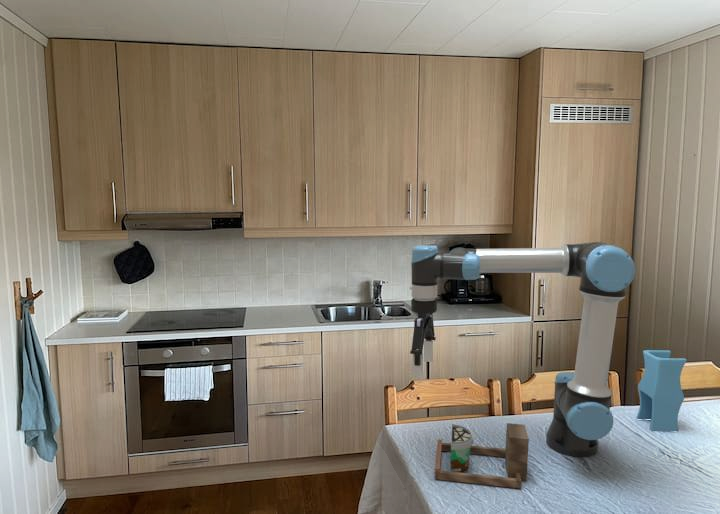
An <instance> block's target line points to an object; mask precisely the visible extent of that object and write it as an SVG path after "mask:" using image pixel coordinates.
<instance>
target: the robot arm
mask: <svg viewBox="0 0 720 514" xmlns="http://www.w3.org/2000/svg"><path fill="white" fill-rule="evenodd" d="M635 272H636V268H635V263H634V261H633V258H632V257H631V256H630V254H629V253H628V252H626V251H625V250H624V249H623V248H620V247H619V246H617V245H612V244H608V243H605V242H599V241H595V242H594V241H593V242H586V243H585V242H584V243H576V244H575V243H573V244H572V243H571V244H570V243H568V244H563V245H562V246H561V247H527V248H526V247H524V248H523V247H520V248H519V247H517V248H513V247H512V248H510V247H509V248H508V247H507V248H505V247H504V248H501V247H500V248H464V247H455V248H453V249H452V250H450V251H449V252H448V253H442V252H439V249H438V246H435V245H425V244H424V245H416V246H414V247H413V248H412V251H411V286H409V289H410V290H411V297H412V299H411V300H410V302H411V303H410V310H411V311H412V312H413V313H415V314H417V318H414V324H413V334H412V336H413V337H412V344H411V349H410V351H409V353H410V354H411V355H412V362H413V363H412V376H414V377H422V378H423V376H424V362H427V363H428V362H429V363H433V361H434V359H433V358H434V357H433V356H434V341H437V340H436V336H435V325H434V317H433V314H435V313H436V312H438V300H437V299H436V298H438V280H462V281H463V280H465V281H469V280H470V281H472V280H474V281H475V280H478V279H479V278H480V274H482V273H484V274H485V273H486V274H490V273H492V274H493V273H495V274H497V273H498V274H499V273H500V274H502V273H504V274H506V273H509V274H511V273H514V274H521V273H522V274H524V273H525V274H526V273H527V274H530V273H531V274H535V273H536V274H540V273H541V274H562V276H564V277H575V278H580V280H579V290H578V291H579V293H580V294H581V295H582V297H583V303H582V304H583V305H582V312H581V319H580V327H579V328H580V329H579V336H578V343H577V349H576V350H577V351H576V356H575V357H576V358H575V368H574V371H564V372H563V371H562V372H558V373H557V374H556V375H555V378H554V379H555V381H554V382H553V383H554V394H553V395H554V400H553V417H552V419H551V422H550V425H549V427H548V430H547V431H546V435H545V436H546V437H545V438H546V439H545V442H546V445H548V446H549V448H551V449H552V450H554V451H555V452H558V453H560V454H564V455H566V456H570V457H571V456H572V457H577V458H586V457H592V456H594V455H596V454H598V452H599V440H601V439H602V438H604V437H606V436H607V435H608V434H609V433H610V432H612V429H613V426H614V416H613V413H612V411H611V403H612V395H613V392H612V390H611V388H609V386H608V380H609V379H608V378H609V373H610V372H609V371H610V364H611V356H612V350H613V342H614V336H615V328H616V321H617V314H618V306H619V302H620V301H622V300H624V299H626V295H627V294H626V293H627V290H628V289H627V288H628V287H629V285H631V283H632V281H633V279H634V277H635V275H636V274H635Z"/></svg>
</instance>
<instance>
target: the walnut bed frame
mask: <svg viewBox="0 0 720 514" xmlns="http://www.w3.org/2000/svg"><path fill="white" fill-rule="evenodd" d="M505 429H506V433H505V448H501V447H500V448H499V447H492V446H490V447H489V446H480V445H472V446H471V447H470V455H481V456H490V457H499V458H504V463H505V469H506V476H507V477H503V476H497V475H496V476H495V475H486V474H477V473H469V472H464V473H460V472H451V471H449V470H441V464H442V463H441V461H442V452H449V453H451V442H450V443H449V442H443V439H440V438H437V447H436V457H435V467H434V470H435V471H434V480H439V481H449V482H450V481H451V482H460V483H468V484H476V485H477V484H478V485H484V486H485V485H487V486H495V487H505V488H510V489H511V488H513V489H522V481H528V462H529V461H528V460H529V459H528V457H529V442H530V440H529V439H530V438H529V435H528V432H527V429H526V425H525V424H522V423H509V422H506V427H505Z"/></svg>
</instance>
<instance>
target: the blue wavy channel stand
mask: <svg viewBox="0 0 720 514" xmlns="http://www.w3.org/2000/svg"><path fill="white" fill-rule="evenodd" d="M642 353H643V359H644V371H643V375H642V377H641V379H640V381H639V382H638V385H637V391H638V395H639V408H638V411H637V415H636V417H635V419H636V418H637V419H651V420H650V424H649V425H650V426H649V431H650V430H651V431H678V432H679V424H678V422H679V421H678V420H679V419H678V418H679V412H680V409H681V407H682V405H683V402H684V400H685V395H684V392H683V388H682V385H681V376H682V372H683V368H684V367H685V364H686V362H687V358H682V357H681V358H676V357H675V358H674V357H672V358H670V357H671V353H672V352H671V350H670V349H669V350H668V349H667V350H661V349H660V350H659V349H658V350H657V349H656V350H652V349H647V350H644V349H643V351H642ZM651 431H650V432H651Z"/></svg>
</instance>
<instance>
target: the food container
mask: <svg viewBox="0 0 720 514" xmlns="http://www.w3.org/2000/svg"><path fill="white" fill-rule="evenodd" d="M450 444H451V452H450V471H451V472H460V473H466V472H467V471H468V470H469V465H470V463H469V462H470V456H471V454H470V447H471V446H473V445H474V439H473V434H472V432H471V431H470V429H469V428H466V427H464V426H462V425H459V424H454V423H453V424H451V441H450Z"/></svg>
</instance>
